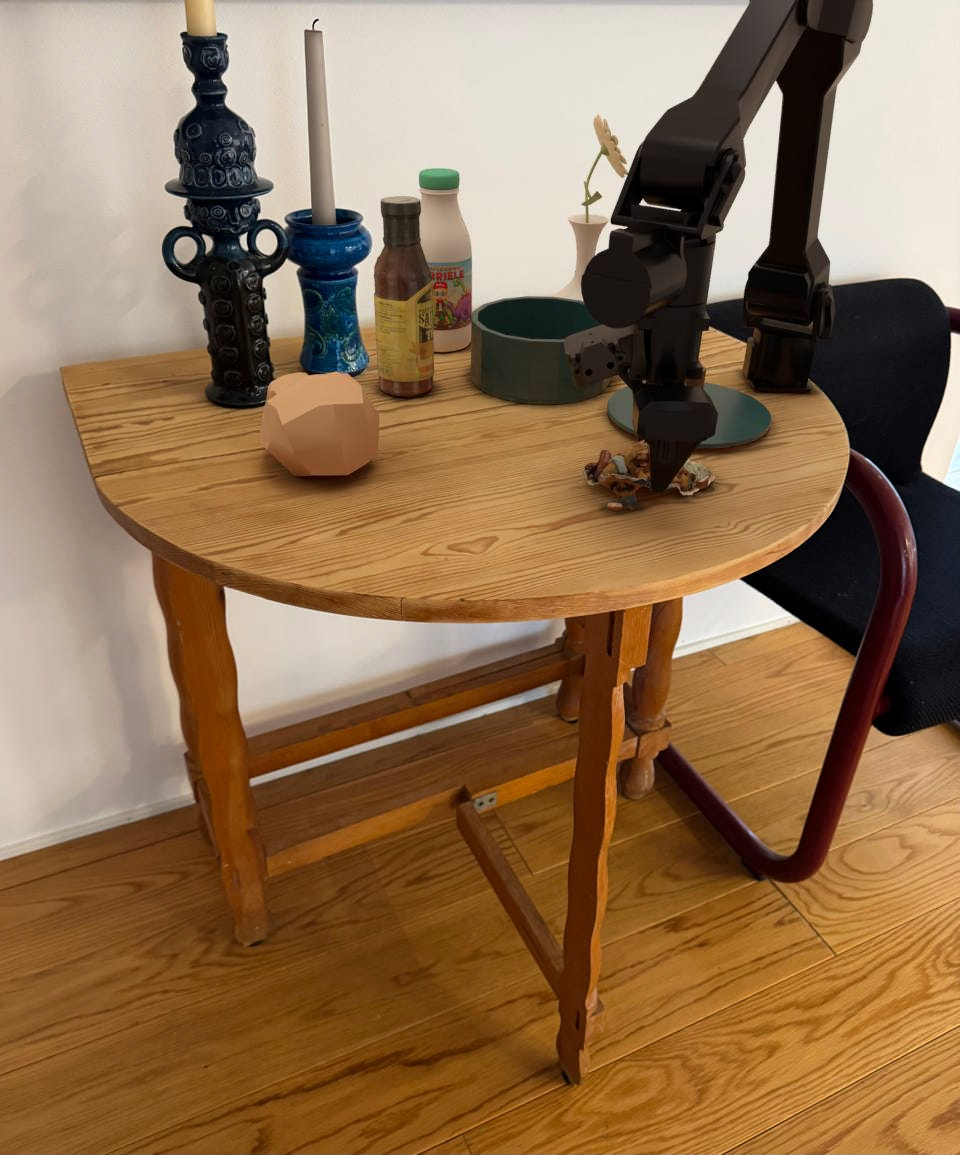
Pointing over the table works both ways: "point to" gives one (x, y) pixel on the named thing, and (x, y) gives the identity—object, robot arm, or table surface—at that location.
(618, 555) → the table surface
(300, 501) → the table surface
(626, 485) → the pastry
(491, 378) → the pot
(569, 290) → the flower in vase
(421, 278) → the sauce bottle
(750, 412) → the lid
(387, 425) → the table surface
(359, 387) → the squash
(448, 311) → the milk bottle
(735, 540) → the table surface
